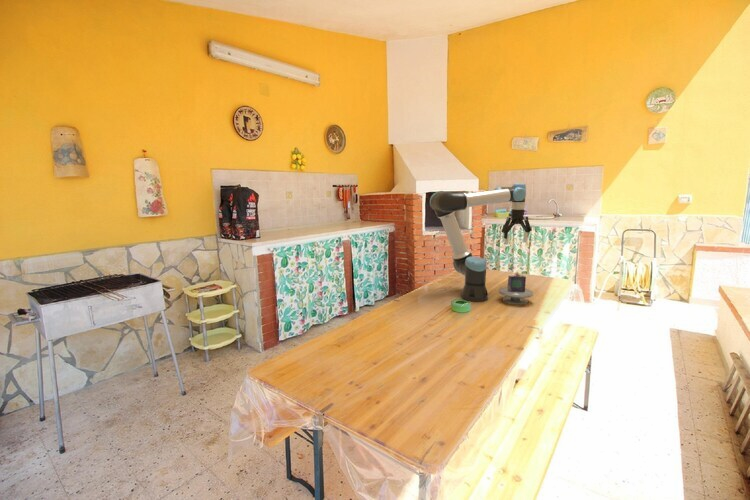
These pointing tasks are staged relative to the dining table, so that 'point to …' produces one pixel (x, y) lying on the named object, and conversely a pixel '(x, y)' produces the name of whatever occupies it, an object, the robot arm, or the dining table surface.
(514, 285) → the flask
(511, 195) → the robot arm
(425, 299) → the dining table surface
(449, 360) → the dining table surface
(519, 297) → the cake stand
